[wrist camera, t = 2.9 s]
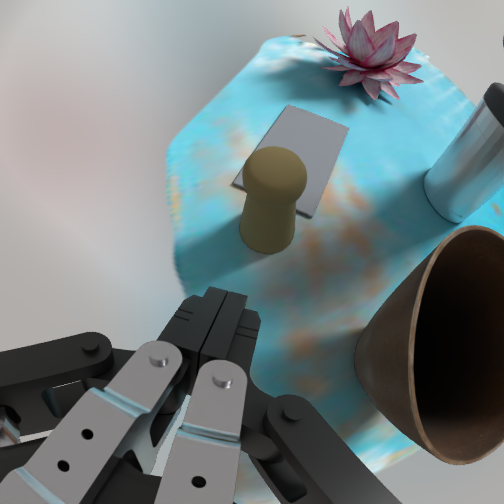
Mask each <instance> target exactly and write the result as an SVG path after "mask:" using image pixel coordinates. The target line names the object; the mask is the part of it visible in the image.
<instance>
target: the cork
mask: <svg viewBox="0 0 504 504" xmlns="http://www.w3.org/2000/svg"><path fill="white" fill-rule="evenodd" d="M242 180H243V186H244V188H245V190H246V192H247V197H246V201H245V205H244V209H243V213H242V217H241V222H240V226H239V227H240V235H241V237H242V239H243V241H244V243H245V244H246V245H247V246H248V247H249V248H251V249H253V250H254V251H256V252H260V253H264V254H270V253H276V252H279V251H281V250H283V249H285V248H286V247H287V246H288V245H289V244H290V242H291V241H292V239H293V236H294V231H295V216H296V201H297V200H298V199H299V198H300V197H301V195H302V193H303V192H304V190H305V188H306V184H307V171H306V167H305V165H304V163H303V162H302V160H301V159H300V157H299V156H298V155H296V154H295V153H294V152H293V151H291V150H289V149H286V148H283V147H278V146H268V147H264V148H261V149H259V150H257V151H256V152H254V153H253V154H251V155H250V157H249V158H248V159H247V160H246V162H245V165H244V168H243V171H242Z"/></svg>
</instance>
